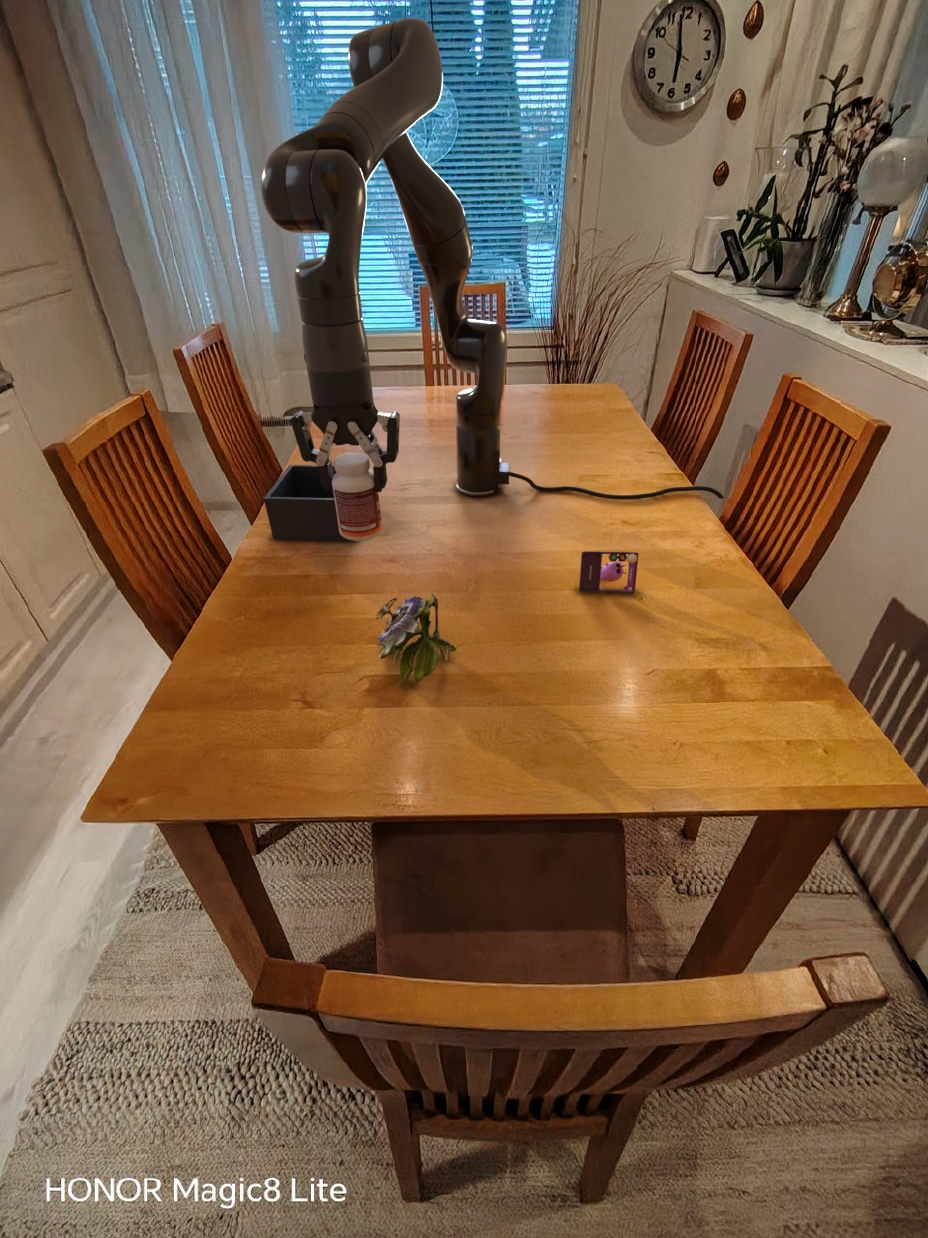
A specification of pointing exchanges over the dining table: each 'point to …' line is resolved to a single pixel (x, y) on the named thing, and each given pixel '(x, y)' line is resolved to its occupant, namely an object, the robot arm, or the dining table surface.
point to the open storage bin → (302, 507)
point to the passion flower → (405, 629)
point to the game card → (606, 570)
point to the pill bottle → (356, 497)
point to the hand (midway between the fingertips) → (355, 489)
